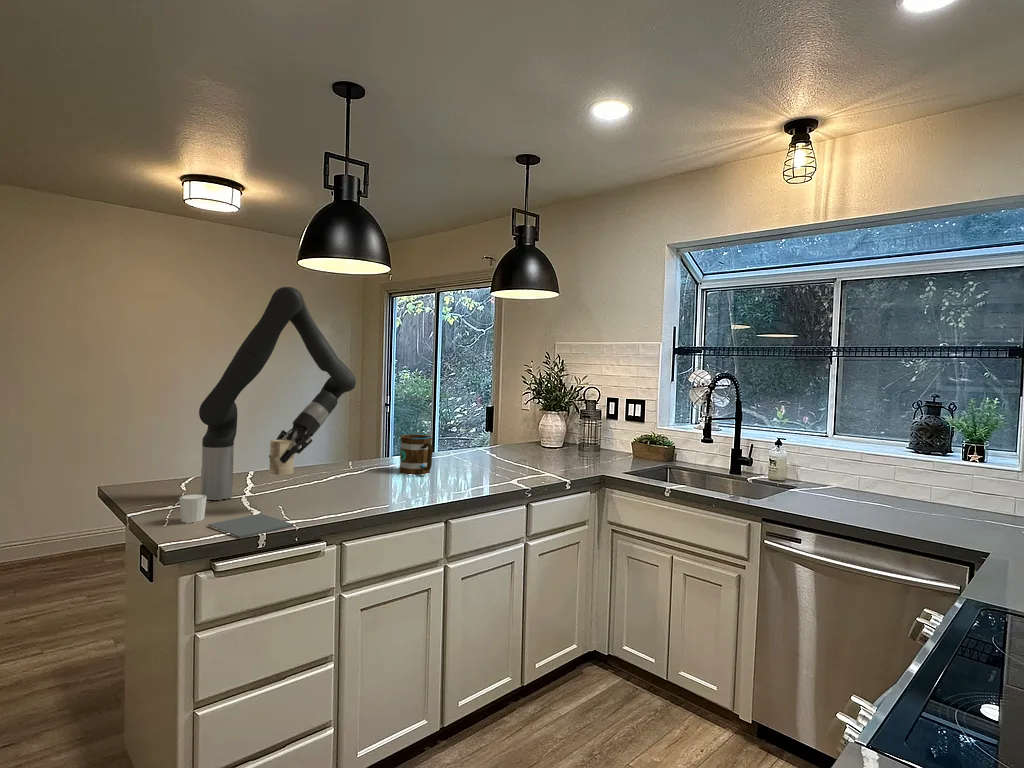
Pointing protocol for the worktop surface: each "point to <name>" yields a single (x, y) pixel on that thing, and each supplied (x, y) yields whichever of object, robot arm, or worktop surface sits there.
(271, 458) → the birch block
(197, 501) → the white tapered cup
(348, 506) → the worktop surface
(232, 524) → the slate mat
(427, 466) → the mug
